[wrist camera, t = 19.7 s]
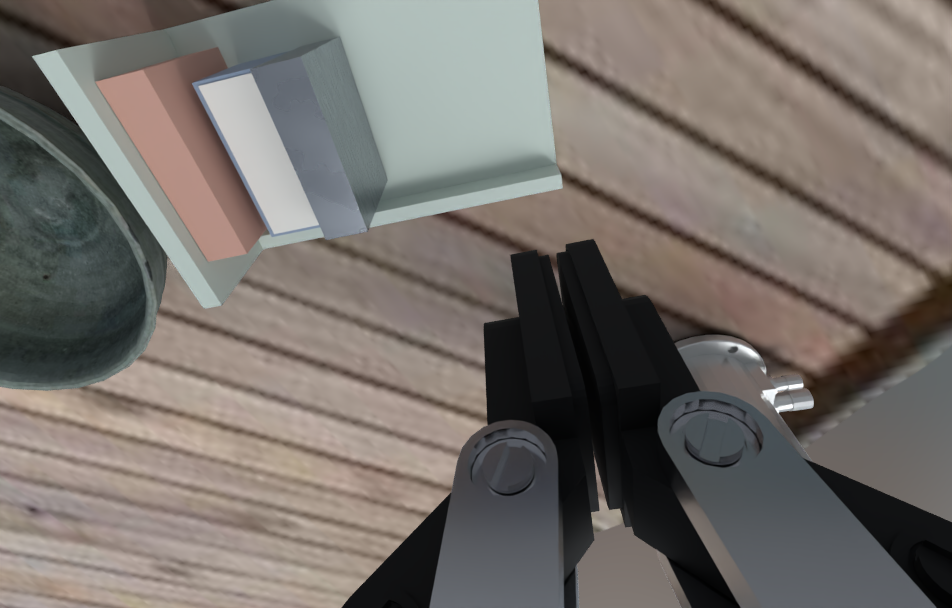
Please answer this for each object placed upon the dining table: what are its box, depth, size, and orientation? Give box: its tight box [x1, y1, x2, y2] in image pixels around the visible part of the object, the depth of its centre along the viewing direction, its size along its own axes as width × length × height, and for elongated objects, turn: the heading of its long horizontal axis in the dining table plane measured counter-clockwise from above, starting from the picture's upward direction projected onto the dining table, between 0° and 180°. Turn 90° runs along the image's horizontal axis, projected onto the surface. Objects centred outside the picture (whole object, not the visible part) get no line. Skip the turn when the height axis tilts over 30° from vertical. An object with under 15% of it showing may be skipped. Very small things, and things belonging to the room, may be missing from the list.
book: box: [192, 51, 320, 237], centre depth 29 cm, size 4×9×6 cm, turn 12°
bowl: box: [0, 85, 167, 391], centre depth 30 cm, size 21×21×10 cm
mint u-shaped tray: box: [32, 0, 563, 309], centre depth 27 cm, size 23×14×10 cm, turn 102°
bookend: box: [250, 37, 388, 240], centre depth 27 cm, size 2×9×8 cm, turn 12°
